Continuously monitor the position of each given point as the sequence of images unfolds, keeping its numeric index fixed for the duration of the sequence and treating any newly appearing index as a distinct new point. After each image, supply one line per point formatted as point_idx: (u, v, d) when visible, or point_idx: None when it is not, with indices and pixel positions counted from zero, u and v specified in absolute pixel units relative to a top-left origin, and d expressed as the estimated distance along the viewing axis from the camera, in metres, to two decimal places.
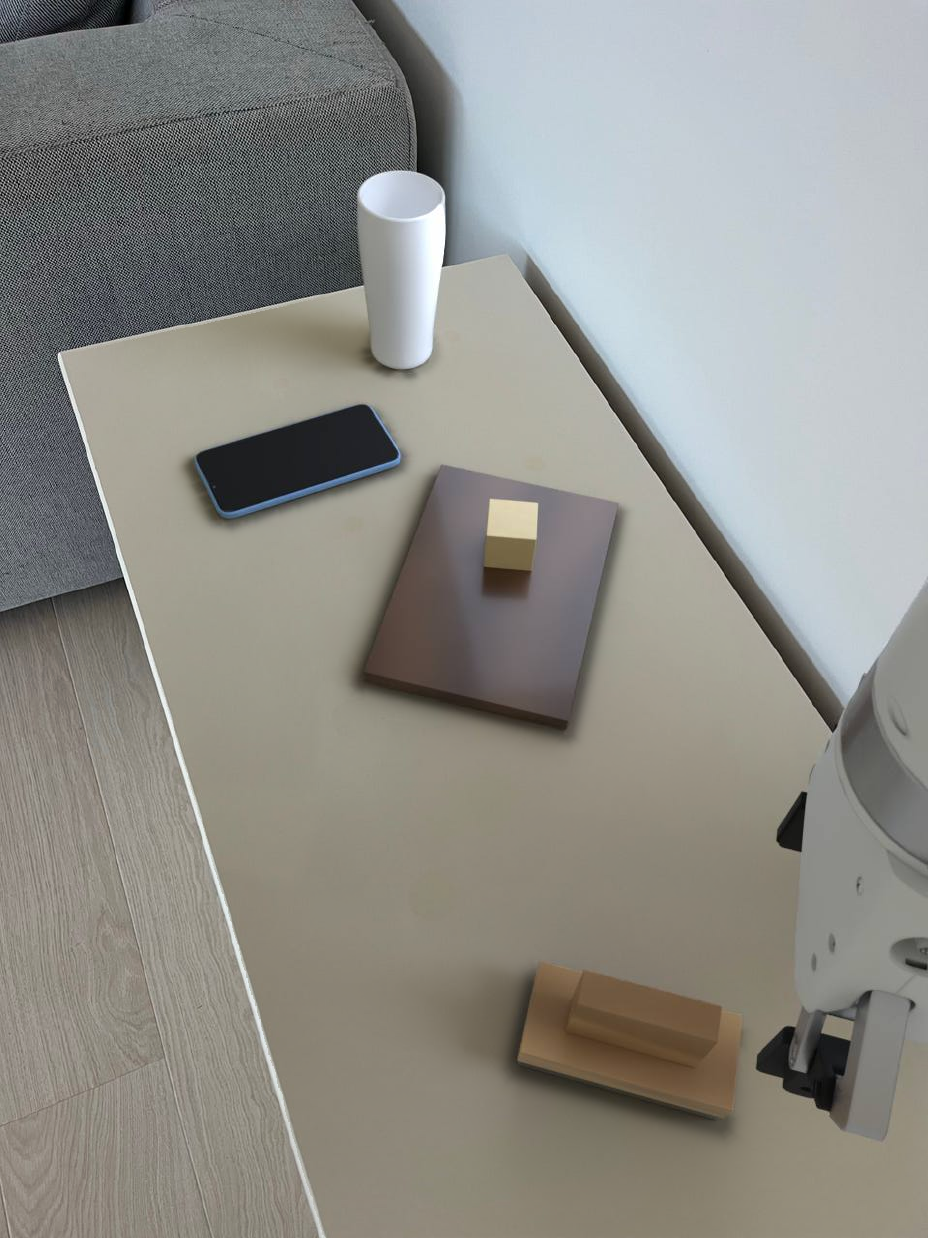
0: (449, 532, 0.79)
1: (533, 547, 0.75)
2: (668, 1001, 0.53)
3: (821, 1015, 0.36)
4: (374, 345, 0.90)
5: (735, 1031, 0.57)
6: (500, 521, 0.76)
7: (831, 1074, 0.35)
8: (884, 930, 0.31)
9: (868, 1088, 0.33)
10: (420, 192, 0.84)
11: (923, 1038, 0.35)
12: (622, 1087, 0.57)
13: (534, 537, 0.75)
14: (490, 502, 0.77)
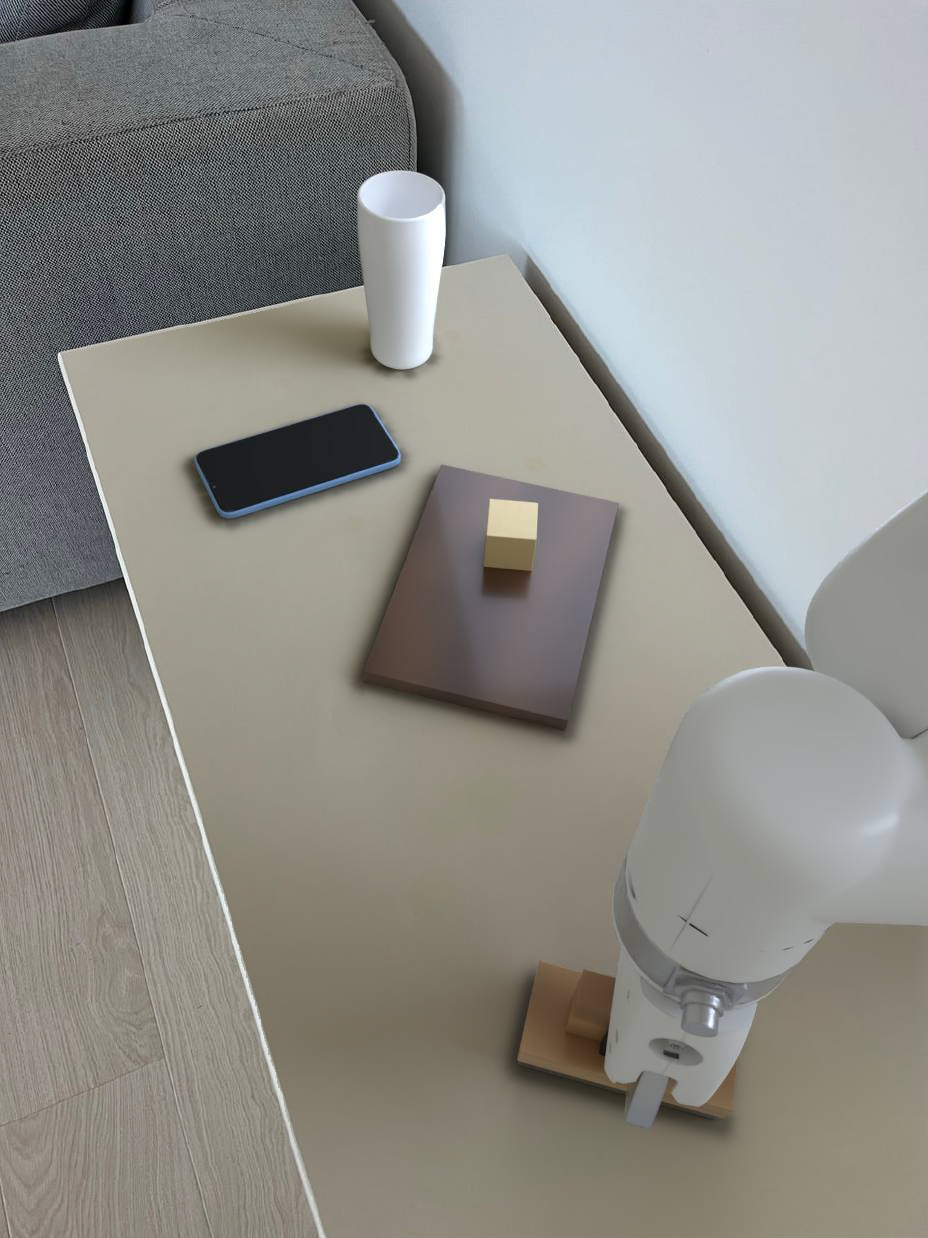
0: (449, 532, 0.79)
1: (533, 547, 0.75)
2: None
3: None
4: (374, 345, 0.90)
5: None
6: (500, 521, 0.76)
7: None
8: (642, 1032, 0.43)
9: (638, 1109, 0.47)
10: (420, 192, 0.84)
11: (693, 1104, 0.47)
12: (622, 1087, 0.57)
13: (534, 537, 0.75)
14: (490, 502, 0.77)
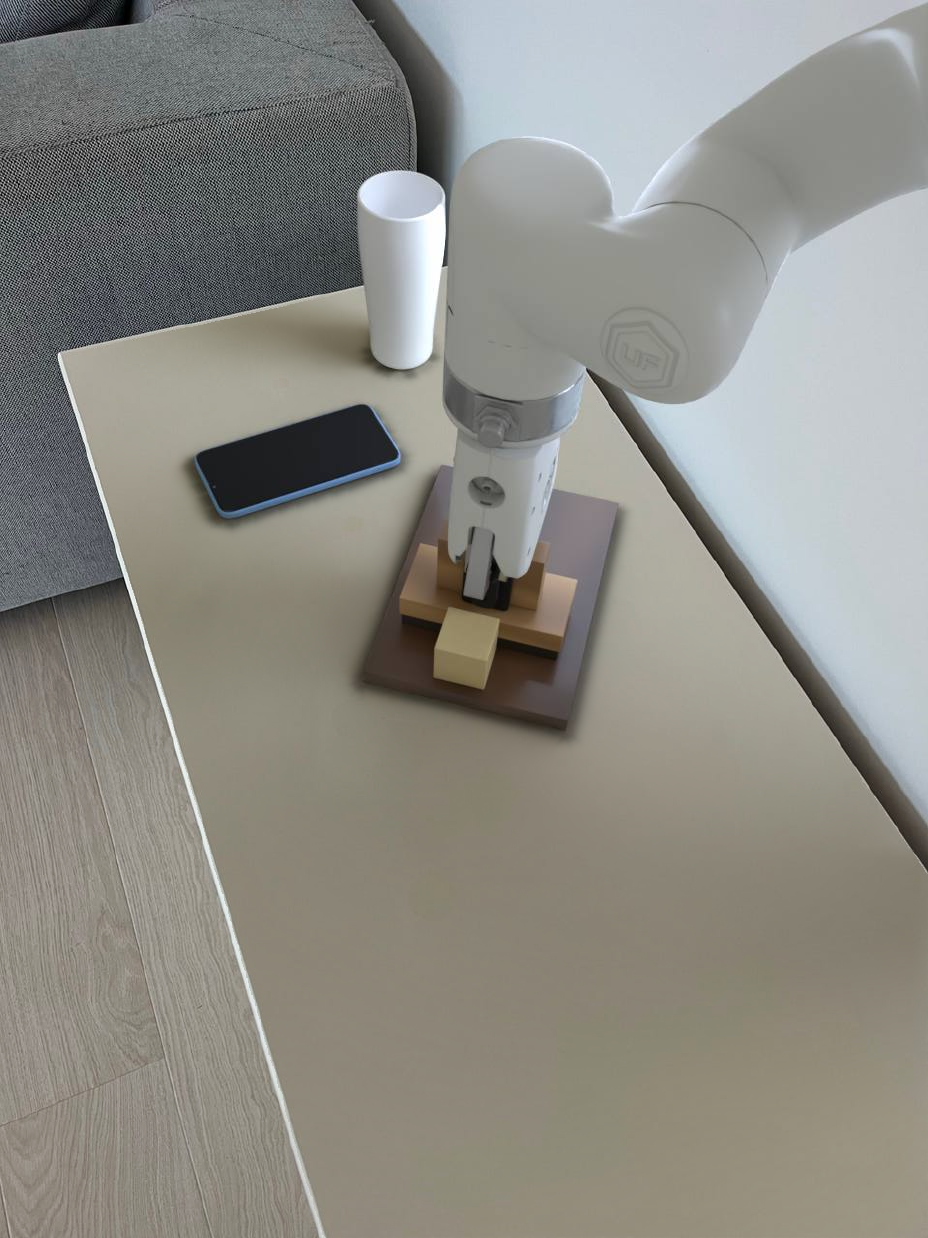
0: None
1: (484, 667, 0.69)
2: None
3: None
4: (374, 345, 0.90)
5: (570, 589, 0.73)
6: (453, 634, 0.70)
7: None
8: (462, 477, 0.58)
9: (472, 578, 0.63)
10: (420, 192, 0.84)
11: (512, 569, 0.62)
12: None
13: (485, 658, 0.69)
14: (448, 611, 0.71)
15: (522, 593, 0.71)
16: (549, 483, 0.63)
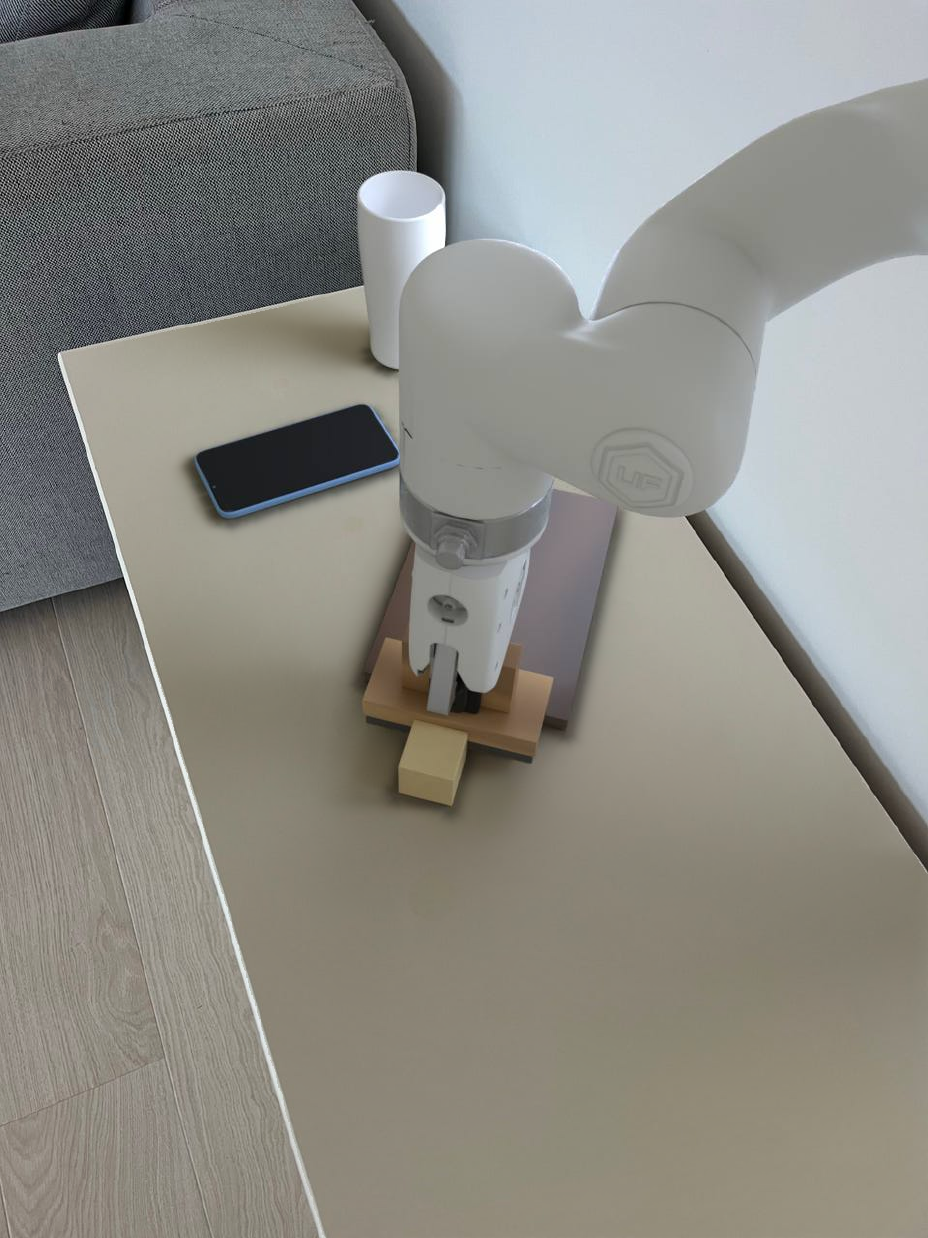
0: None
1: (451, 786, 0.66)
2: None
3: None
4: (374, 345, 0.90)
5: (546, 688, 0.68)
6: (418, 750, 0.66)
7: None
8: (421, 594, 0.53)
9: (436, 693, 0.58)
10: (420, 192, 0.84)
11: (478, 685, 0.58)
12: None
13: (452, 777, 0.65)
14: (413, 724, 0.67)
15: (493, 696, 0.66)
16: (518, 590, 0.59)
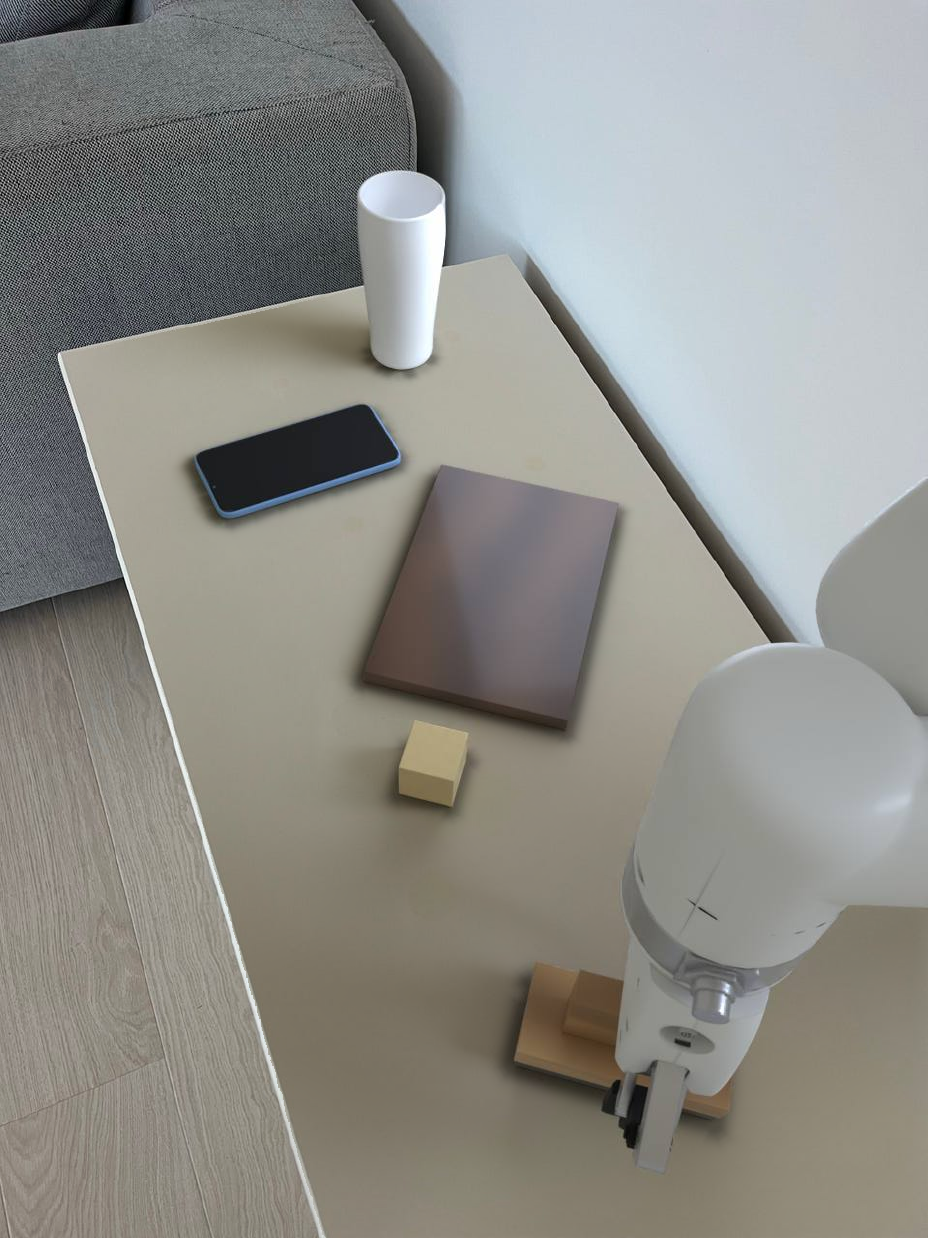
0: (449, 532, 0.79)
1: (451, 787, 0.66)
2: None
3: (634, 1074, 0.47)
4: (374, 345, 0.90)
5: None
6: (418, 751, 0.66)
7: (637, 1121, 0.46)
8: (653, 1020, 0.42)
9: (653, 1134, 0.44)
10: (420, 192, 0.84)
11: (706, 1093, 0.46)
12: None
13: (452, 778, 0.65)
14: (414, 725, 0.67)
15: None
16: None
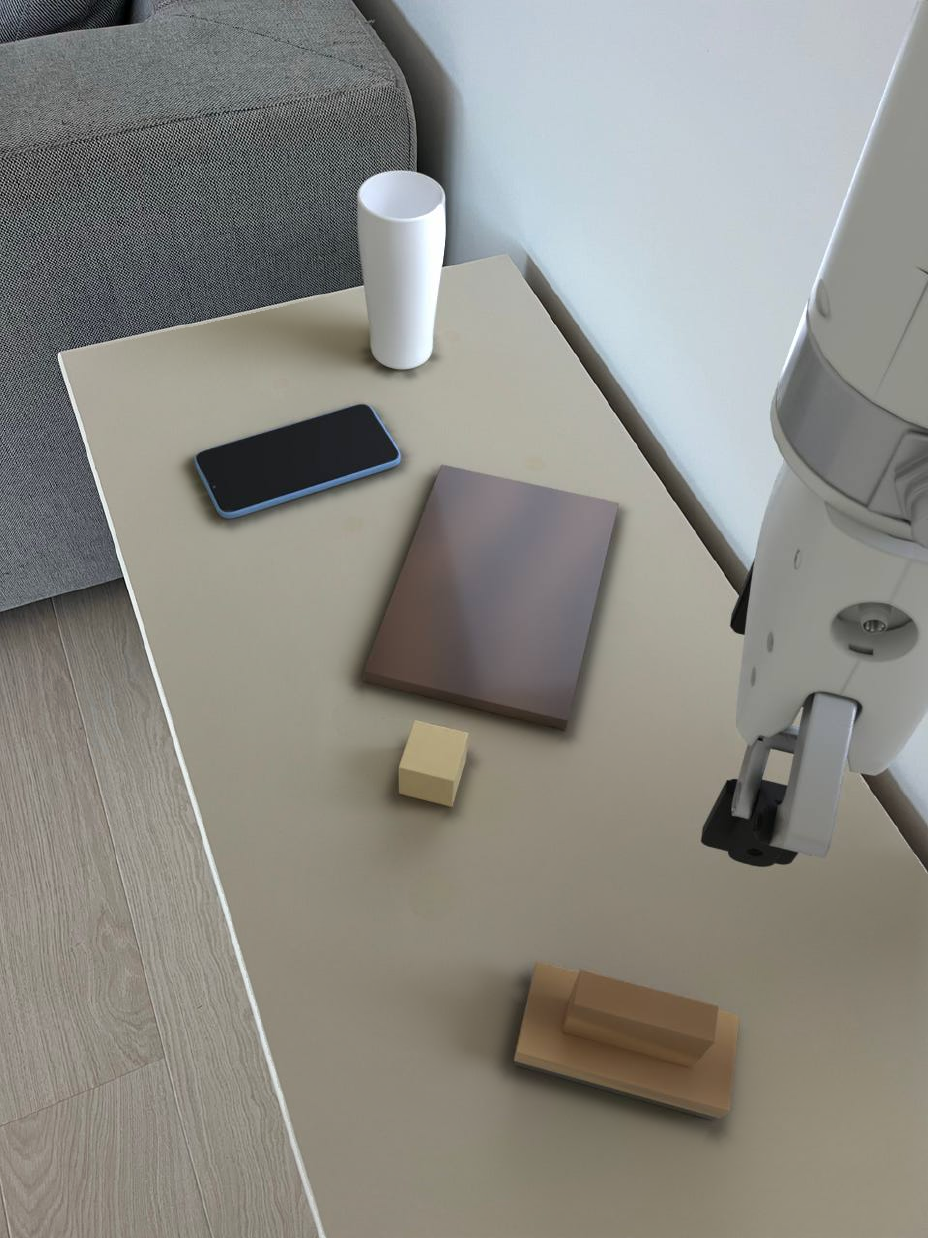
0: (449, 532, 0.79)
1: (451, 787, 0.66)
2: (664, 1001, 0.53)
3: (764, 749, 0.33)
4: (374, 345, 0.90)
5: (732, 1031, 0.57)
6: (418, 751, 0.66)
7: (773, 804, 0.32)
8: (823, 601, 0.28)
9: (810, 797, 0.30)
10: (420, 192, 0.84)
11: (874, 763, 0.32)
12: (619, 1087, 0.57)
13: (452, 778, 0.65)
14: (414, 725, 0.67)
15: (677, 1055, 0.55)
16: None
